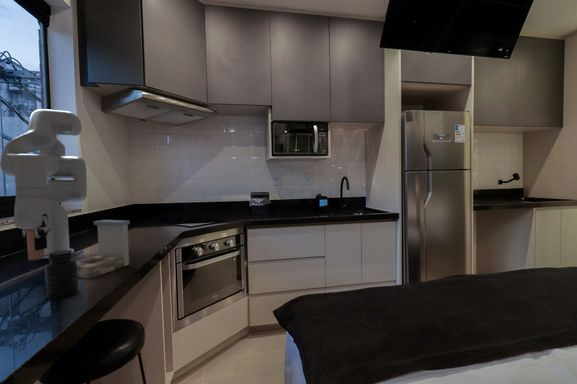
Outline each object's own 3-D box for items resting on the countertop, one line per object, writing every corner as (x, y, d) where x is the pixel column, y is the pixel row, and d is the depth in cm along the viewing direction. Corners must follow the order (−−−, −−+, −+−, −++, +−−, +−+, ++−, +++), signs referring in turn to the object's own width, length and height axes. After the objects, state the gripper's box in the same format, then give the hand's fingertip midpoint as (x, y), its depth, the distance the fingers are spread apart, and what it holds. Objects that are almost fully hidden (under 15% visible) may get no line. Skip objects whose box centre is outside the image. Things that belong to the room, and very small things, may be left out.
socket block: (63, 275, 94) (62, 264, 94) (96, 264, 106) (96, 255, 105) (90, 278, 91) (90, 267, 90) (122, 266, 102) (121, 257, 102)
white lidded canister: (95, 264, 105) (93, 221, 104) (106, 261, 109) (104, 219, 109) (121, 267, 102) (119, 222, 101) (131, 263, 106) (129, 220, 105)
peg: (25, 259, 91) (22, 222, 90) (39, 255, 95) (36, 220, 94) (34, 260, 90) (31, 223, 89) (47, 256, 94) (45, 221, 93)
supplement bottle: (67, 289, 82) (64, 248, 81) (84, 291, 80) (82, 249, 79) (40, 298, 75) (37, 254, 75) (58, 301, 74) (56, 256, 73)
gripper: (-1, 192, 89) (4, 249, 91) (37, 194, 85) (41, 254, 86) (27, 190, 97) (31, 243, 98) (63, 192, 92) (66, 247, 94)
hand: (36, 248), depth 92 cm, fingers closed on peg, 4 cm apart
